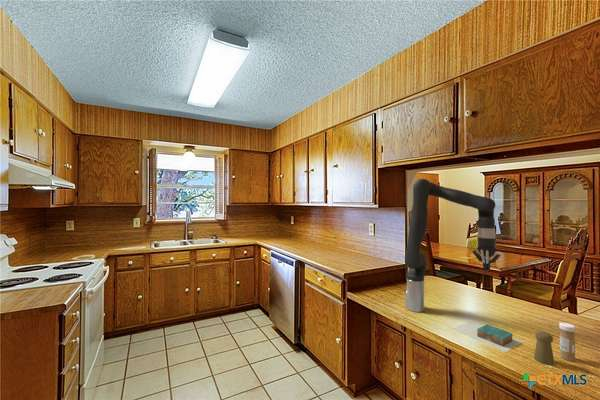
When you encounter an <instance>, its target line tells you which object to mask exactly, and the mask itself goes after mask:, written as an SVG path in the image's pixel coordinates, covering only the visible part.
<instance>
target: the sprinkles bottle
mask: <svg viewBox="0 0 600 400" xmlns="http://www.w3.org/2000/svg"><path fill="white" fill-rule="evenodd" d="M558 324H559V325H558V327H559V356H560V358H562V359H563V360H565V361H567V362H568V361H570V362H575V361H576V340H575V339H576V336H575V335H576V325H573V324H571V323H569V322H568V323H567V322H559V323H558Z"/></svg>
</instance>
